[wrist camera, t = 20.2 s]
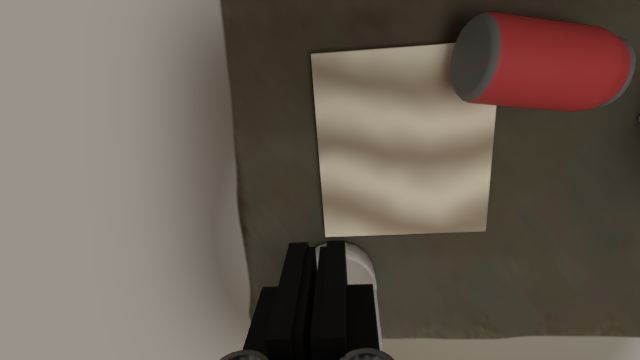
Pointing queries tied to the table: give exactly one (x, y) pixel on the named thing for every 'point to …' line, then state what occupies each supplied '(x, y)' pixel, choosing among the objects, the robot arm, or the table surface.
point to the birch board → (399, 143)
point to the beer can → (539, 63)
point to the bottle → (359, 273)
